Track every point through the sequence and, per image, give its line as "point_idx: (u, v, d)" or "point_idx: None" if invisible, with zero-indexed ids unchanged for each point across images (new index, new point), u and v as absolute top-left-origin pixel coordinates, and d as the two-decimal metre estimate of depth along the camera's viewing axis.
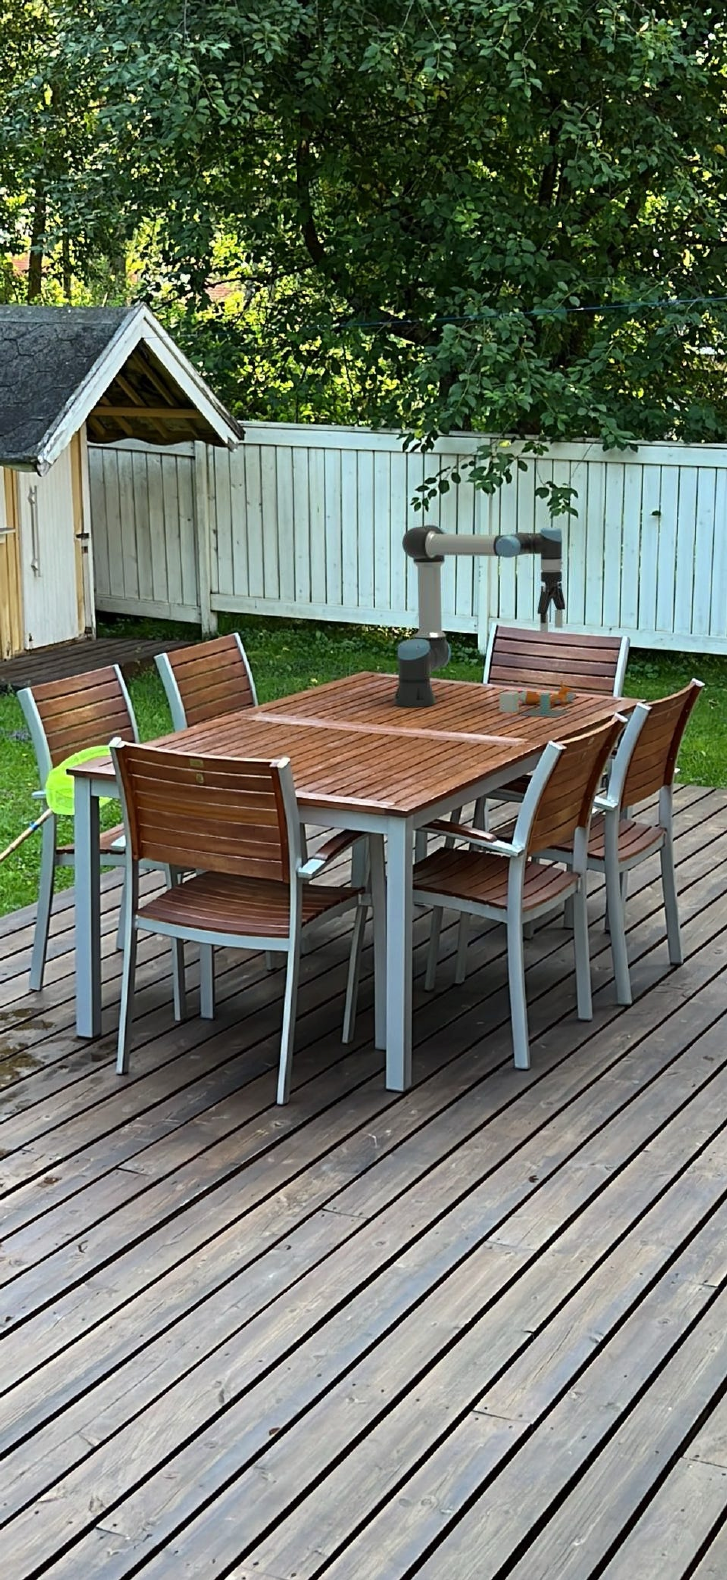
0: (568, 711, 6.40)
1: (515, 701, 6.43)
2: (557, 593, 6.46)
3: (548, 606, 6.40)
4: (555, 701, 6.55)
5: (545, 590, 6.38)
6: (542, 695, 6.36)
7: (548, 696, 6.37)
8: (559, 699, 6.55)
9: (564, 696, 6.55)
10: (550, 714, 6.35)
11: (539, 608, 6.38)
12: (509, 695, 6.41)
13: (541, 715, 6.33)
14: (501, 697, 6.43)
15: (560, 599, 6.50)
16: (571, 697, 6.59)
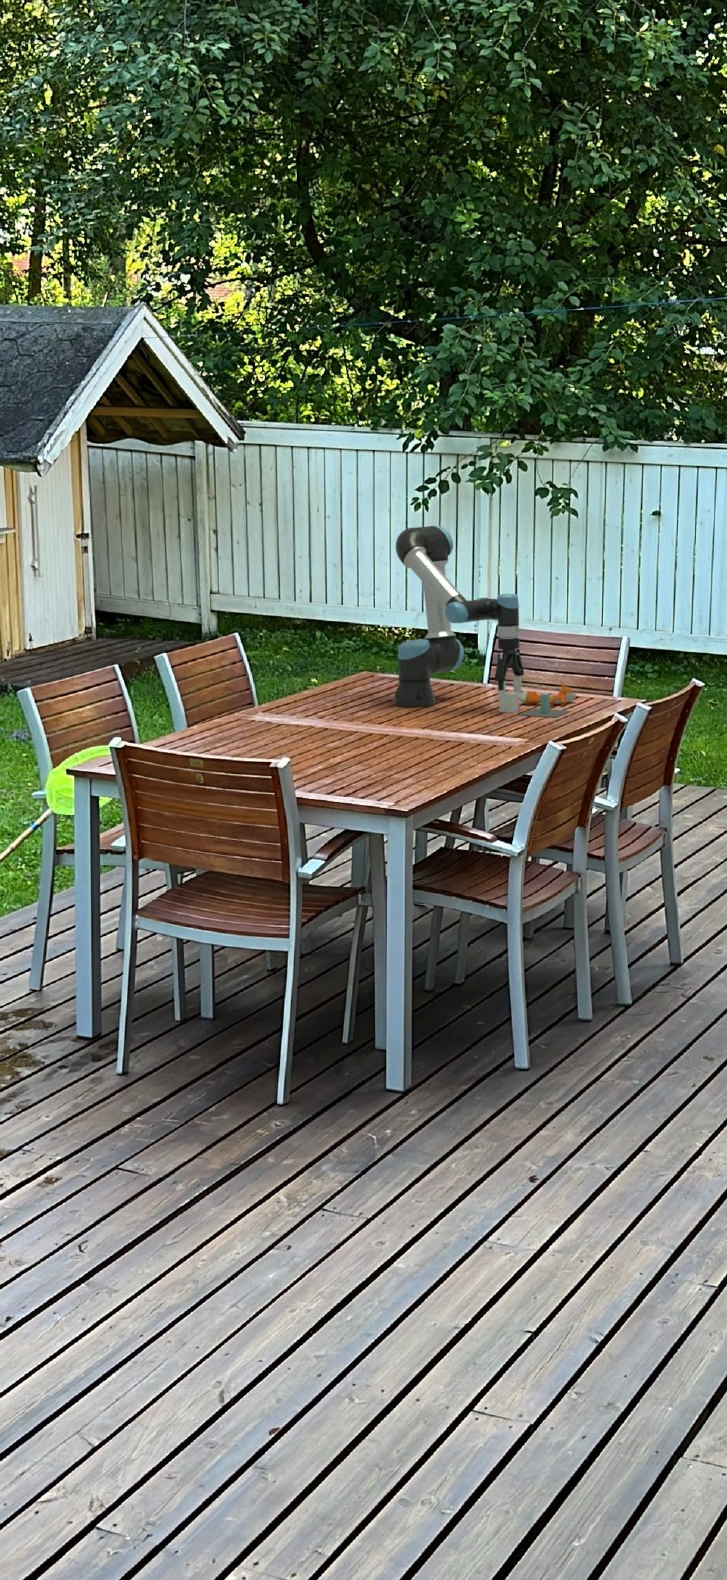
0: (568, 711, 6.40)
1: (515, 701, 6.43)
2: (515, 659, 6.42)
3: (505, 673, 6.36)
4: (555, 701, 6.55)
5: (502, 657, 6.35)
6: (542, 695, 6.36)
7: (548, 696, 6.37)
8: (559, 699, 6.54)
9: (564, 696, 6.55)
10: (550, 714, 6.35)
11: (496, 675, 6.34)
12: (509, 695, 6.41)
13: (541, 715, 6.33)
14: None
15: (518, 665, 6.46)
16: (571, 697, 6.58)
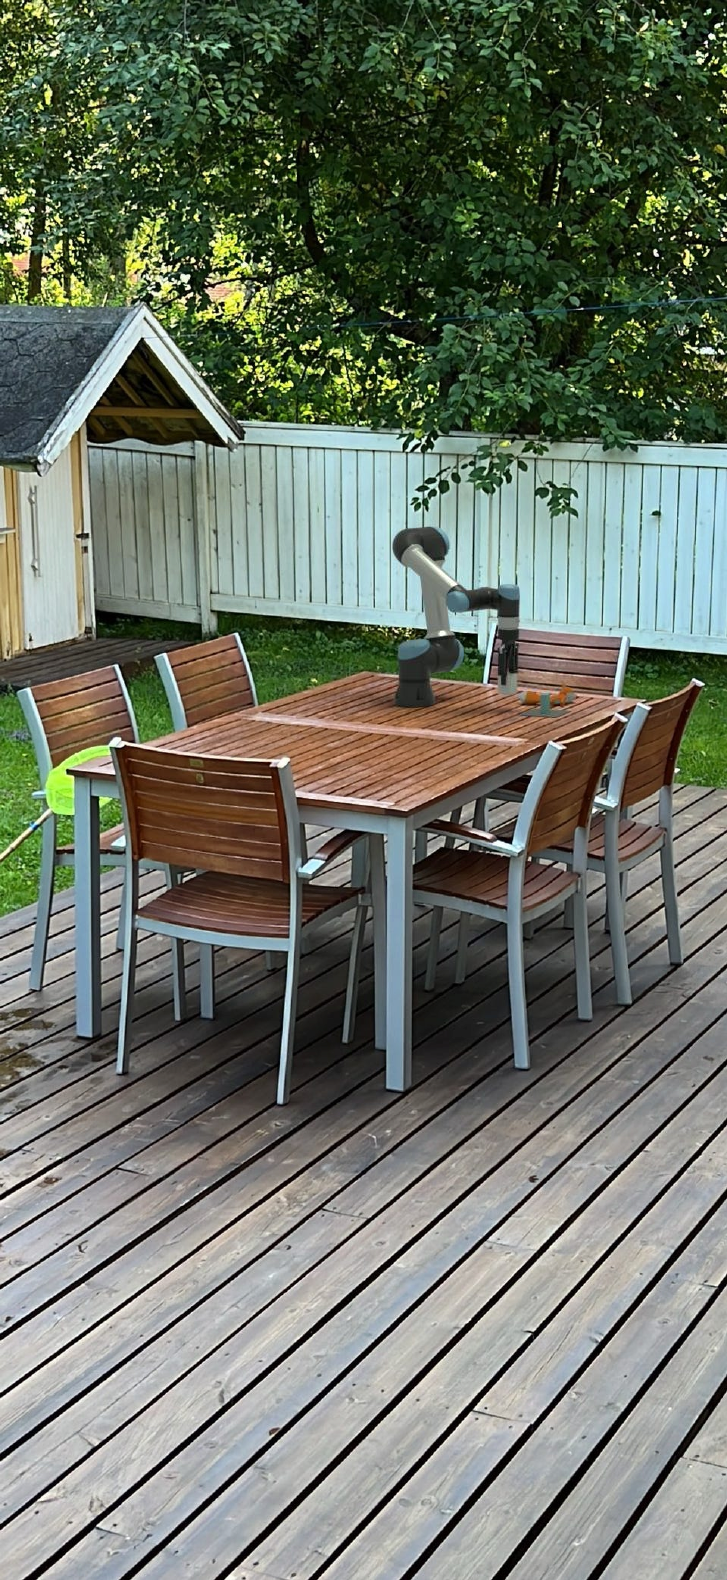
0: (568, 711, 6.40)
1: (514, 683, 6.42)
2: (513, 651, 6.41)
3: (507, 667, 6.39)
4: (554, 701, 6.54)
5: (502, 652, 6.35)
6: (542, 695, 6.36)
7: (548, 696, 6.37)
8: (558, 699, 6.54)
9: (564, 696, 6.55)
10: (550, 714, 6.35)
11: (499, 671, 6.37)
12: (508, 677, 6.40)
13: (541, 715, 6.33)
14: (500, 679, 6.42)
15: (514, 661, 6.44)
16: (571, 697, 6.57)
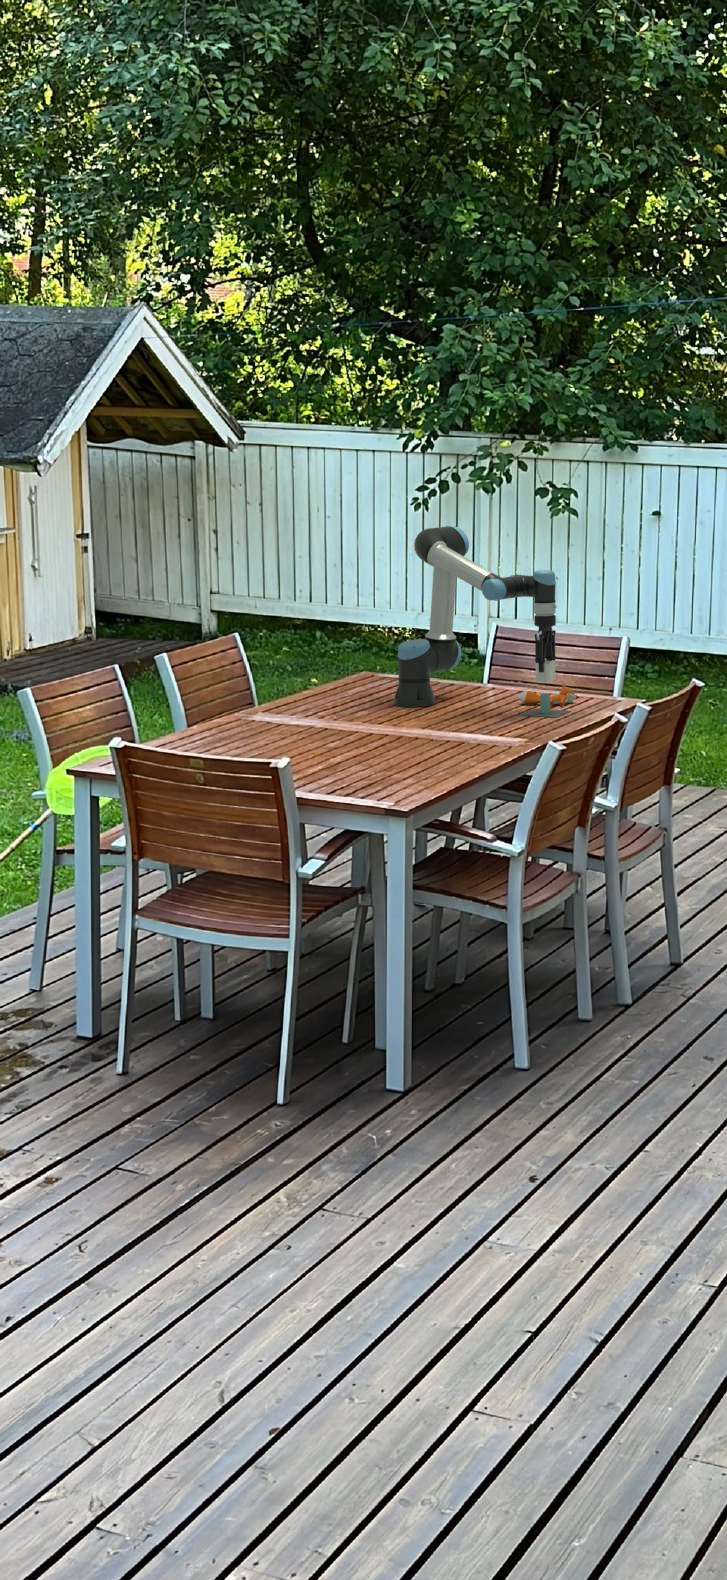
0: (568, 711, 6.40)
1: (552, 670, 6.34)
2: (550, 638, 6.33)
3: (545, 653, 6.31)
4: (554, 702, 6.54)
5: (539, 638, 6.27)
6: (542, 695, 6.36)
7: (548, 696, 6.37)
8: (558, 700, 6.54)
9: (564, 697, 6.54)
10: (550, 714, 6.35)
11: (537, 658, 6.29)
12: (546, 664, 6.32)
13: (541, 715, 6.33)
14: None
15: (552, 648, 6.36)
16: (571, 698, 6.57)
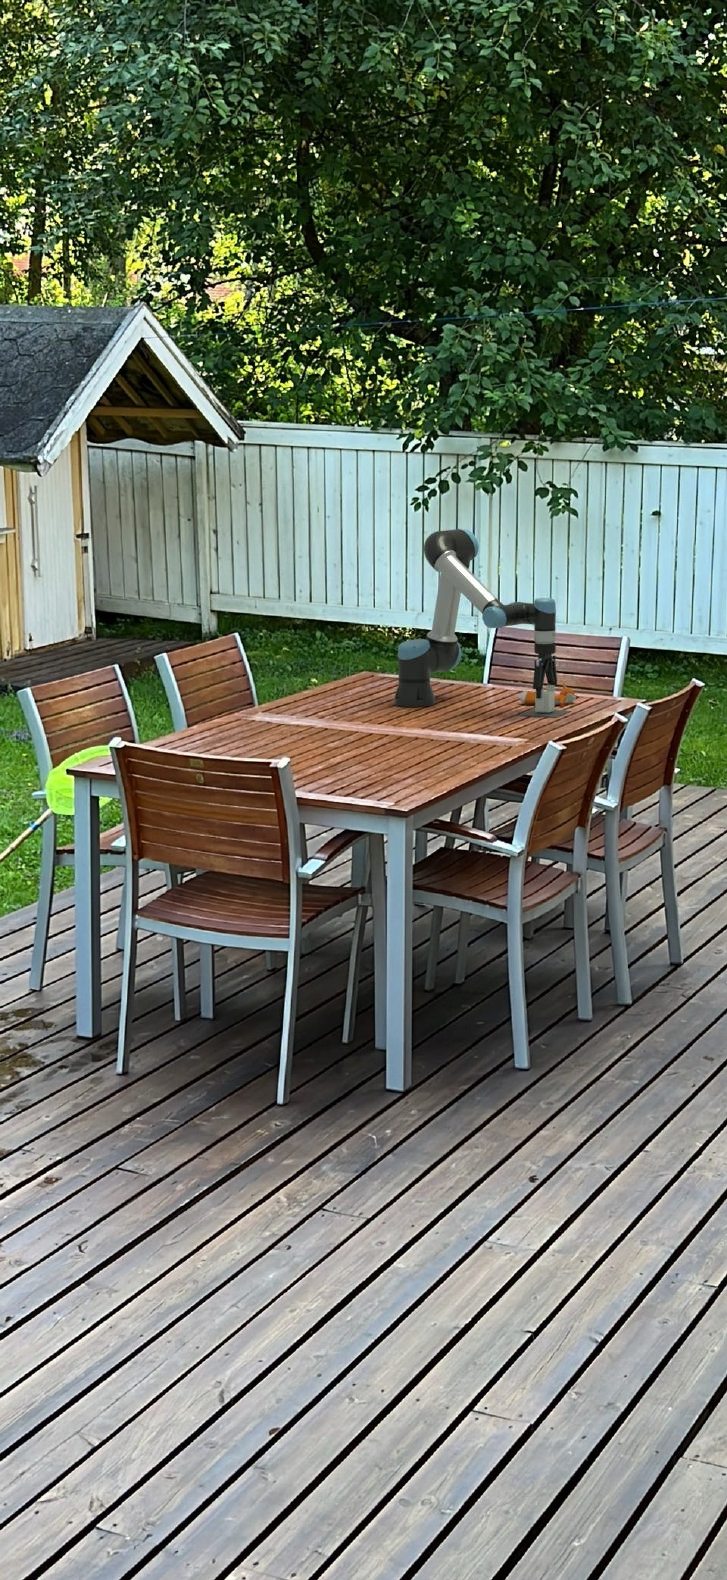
0: (568, 711, 6.40)
1: (551, 700, 6.36)
2: (550, 665, 6.36)
3: (543, 680, 6.32)
4: None
5: (538, 664, 6.29)
6: None
7: None
8: (558, 700, 6.53)
9: (563, 697, 6.53)
10: (550, 714, 6.35)
11: (534, 684, 6.30)
12: (545, 694, 6.34)
13: (541, 715, 6.33)
14: None
15: (553, 673, 6.39)
16: (571, 698, 6.56)
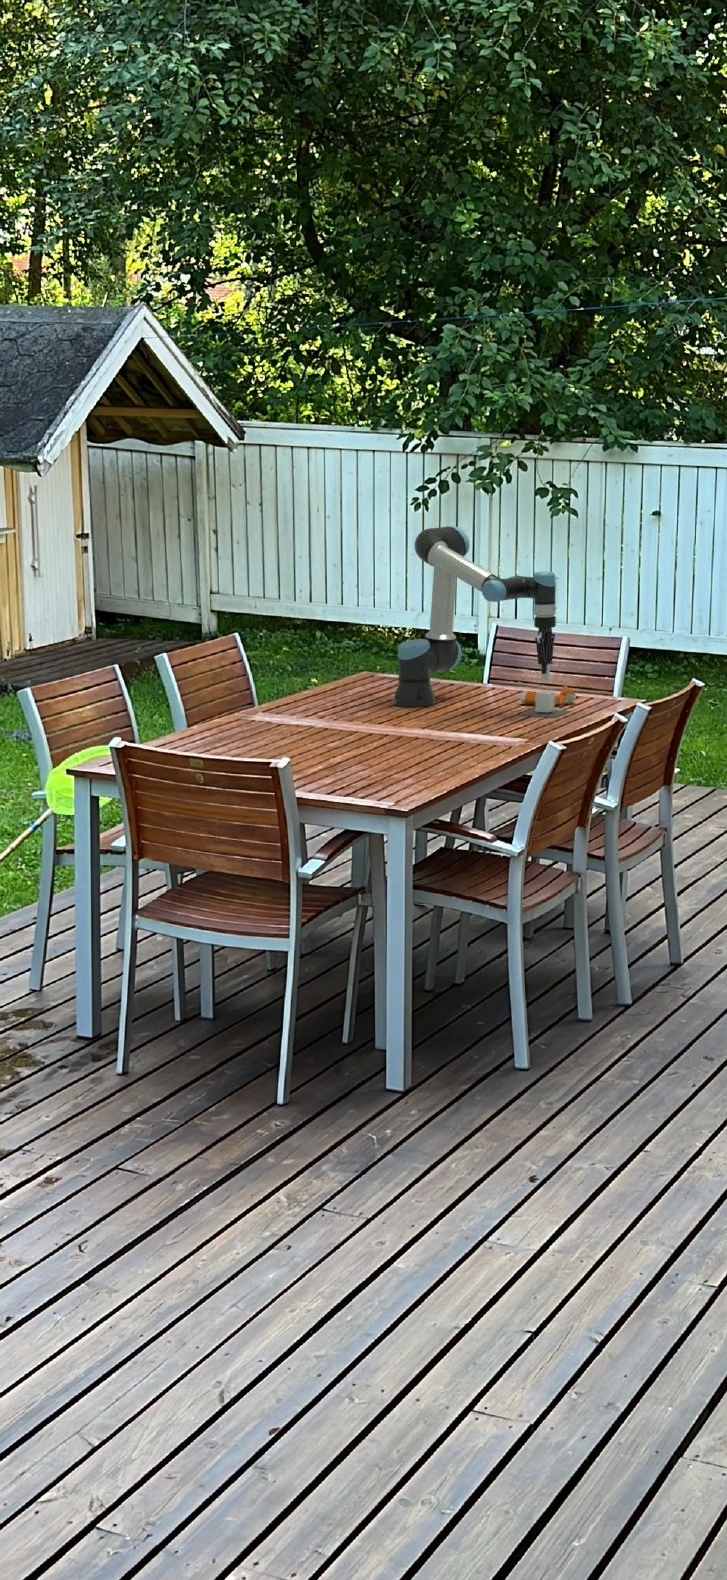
0: (568, 711, 6.40)
1: (551, 700, 6.36)
2: (549, 639, 6.33)
3: (547, 655, 6.33)
4: None
5: (540, 642, 6.28)
6: None
7: None
8: (558, 700, 6.52)
9: (563, 697, 6.53)
10: (550, 714, 6.35)
11: (539, 660, 6.32)
12: (545, 694, 6.34)
13: (541, 715, 6.33)
14: (537, 696, 6.36)
15: (550, 651, 6.35)
16: (572, 698, 6.55)
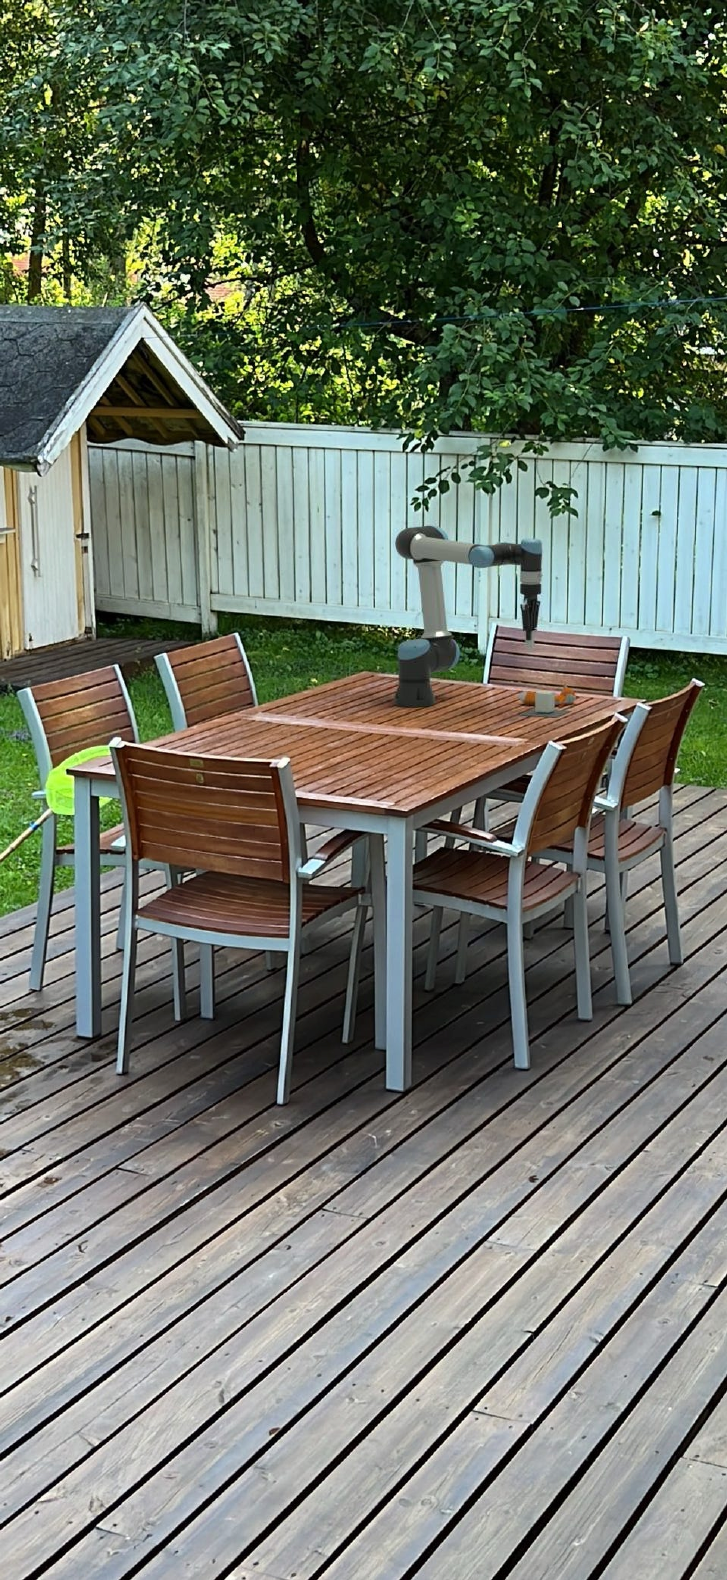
0: (568, 711, 6.40)
1: (551, 700, 6.36)
2: (535, 606, 6.37)
3: (532, 621, 6.37)
4: None
5: (525, 609, 6.33)
6: None
7: None
8: (557, 700, 6.52)
9: (563, 697, 6.52)
10: (550, 714, 6.35)
11: (524, 626, 6.36)
12: (545, 694, 6.34)
13: (541, 715, 6.33)
14: (537, 696, 6.36)
15: (535, 617, 6.39)
16: (571, 699, 6.55)
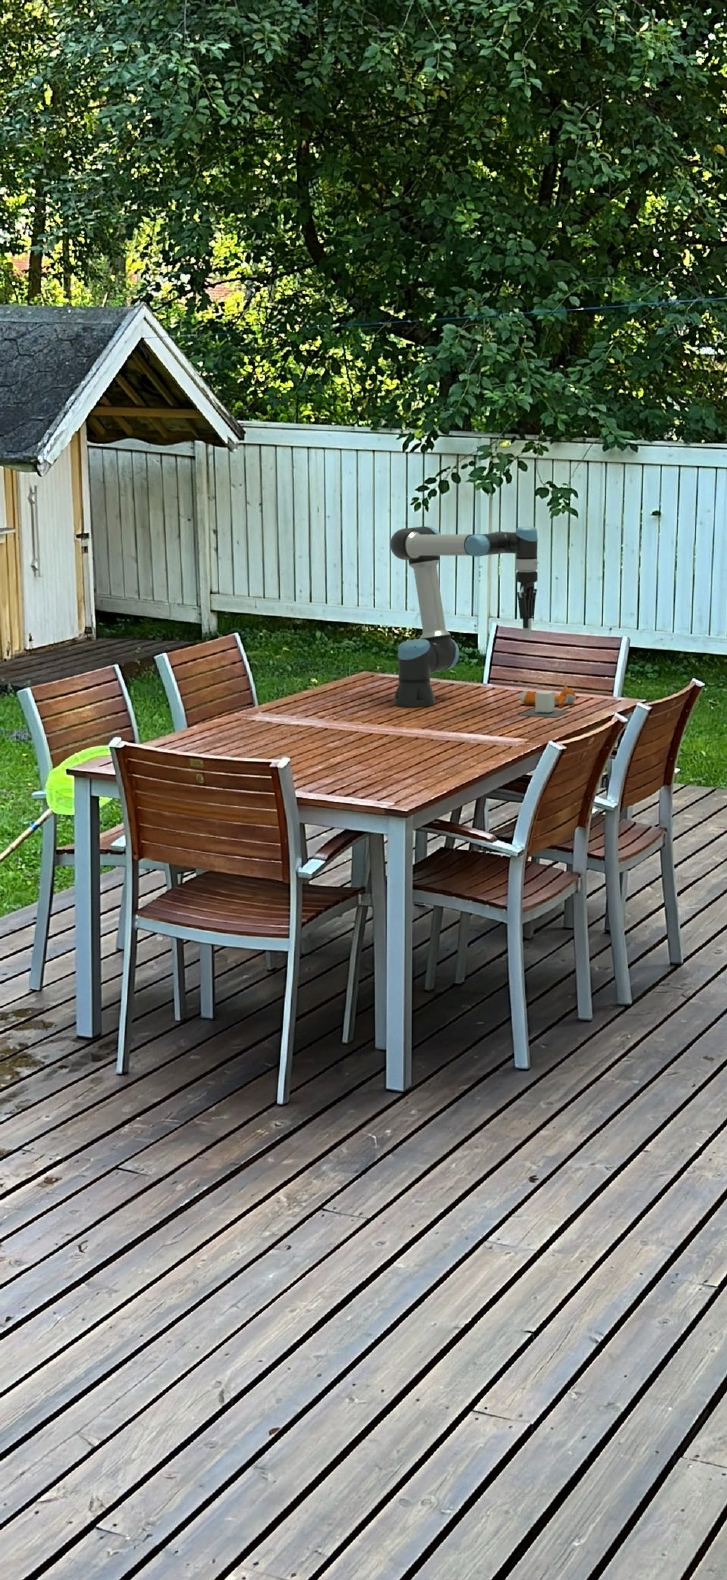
0: (568, 711, 6.40)
1: (551, 700, 6.36)
2: (531, 594, 6.38)
3: (529, 609, 6.38)
4: None
5: (521, 596, 6.33)
6: None
7: None
8: (557, 701, 6.52)
9: (563, 698, 6.52)
10: (550, 714, 6.35)
11: (521, 614, 6.37)
12: (545, 694, 6.34)
13: (541, 715, 6.33)
14: (537, 696, 6.36)
15: (532, 605, 6.40)
16: (571, 699, 6.54)
